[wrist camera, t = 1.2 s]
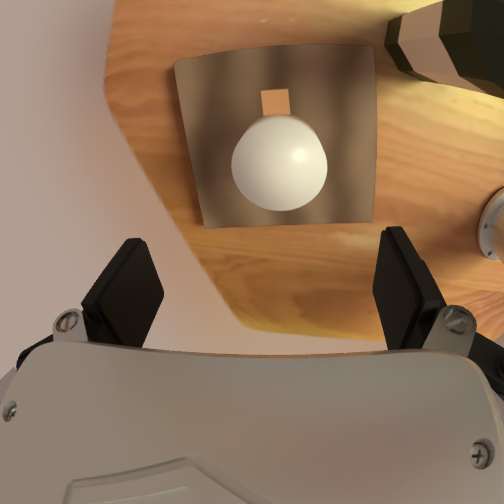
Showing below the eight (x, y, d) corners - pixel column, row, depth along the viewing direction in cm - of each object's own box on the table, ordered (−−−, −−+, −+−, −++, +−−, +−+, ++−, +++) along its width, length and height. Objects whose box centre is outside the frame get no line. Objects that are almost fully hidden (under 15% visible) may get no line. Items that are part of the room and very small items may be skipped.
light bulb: (316, 87, 21) (323, 90, 17) (321, 185, 26) (327, 209, 22) (233, 93, 22) (220, 98, 18) (246, 188, 27) (238, 213, 23)
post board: (368, 48, 23) (385, 43, 18) (368, 214, 34) (380, 241, 29) (179, 62, 26) (157, 61, 21) (208, 220, 37) (196, 246, 32)
